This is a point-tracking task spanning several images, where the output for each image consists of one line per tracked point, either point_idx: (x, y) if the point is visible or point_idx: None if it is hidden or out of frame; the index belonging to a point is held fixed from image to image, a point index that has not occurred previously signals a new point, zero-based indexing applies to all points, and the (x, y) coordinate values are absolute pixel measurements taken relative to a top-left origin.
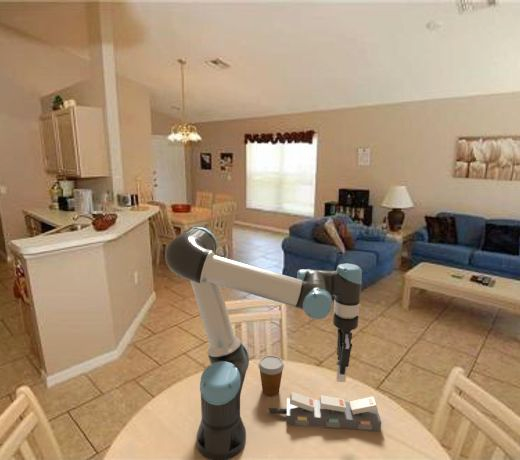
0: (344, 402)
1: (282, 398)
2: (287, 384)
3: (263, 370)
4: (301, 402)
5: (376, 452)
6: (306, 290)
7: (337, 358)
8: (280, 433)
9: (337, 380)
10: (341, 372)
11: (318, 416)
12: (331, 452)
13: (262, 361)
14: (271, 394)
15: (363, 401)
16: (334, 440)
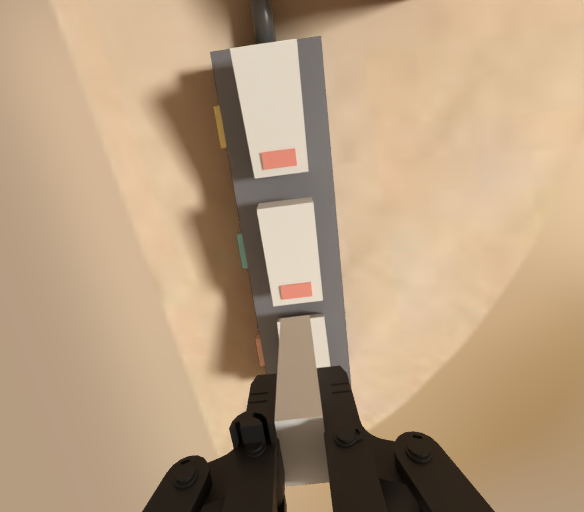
0: (301, 301)
1: (366, 24)
2: (465, 35)
3: None
4: (245, 110)
5: (191, 356)
6: None
7: (347, 426)
8: (170, 47)
9: (280, 325)
10: (251, 397)
11: (240, 194)
12: (148, 238)
13: None
14: None
15: None
16: (198, 246)
